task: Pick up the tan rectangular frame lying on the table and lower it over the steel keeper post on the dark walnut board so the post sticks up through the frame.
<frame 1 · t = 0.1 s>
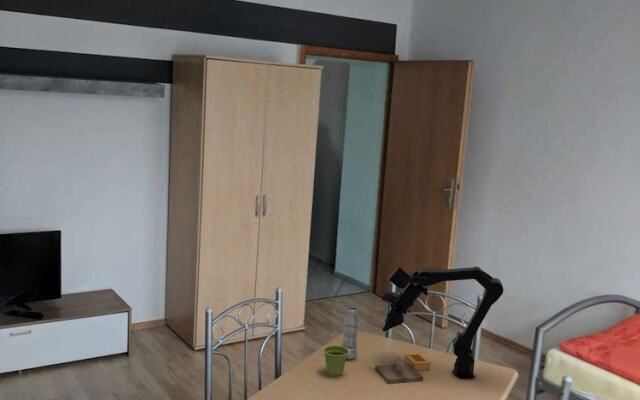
hand: (384, 326, 251), 15 cm above the table, tool tilted 30°, fingers open, 9 cm apart
tan rectangular frame: (416, 365, 254), on the table
plastic bottle: (348, 358, 257), on the table
keeper board: (398, 375, 244), on the table
plant pot: (334, 373, 243), on the table
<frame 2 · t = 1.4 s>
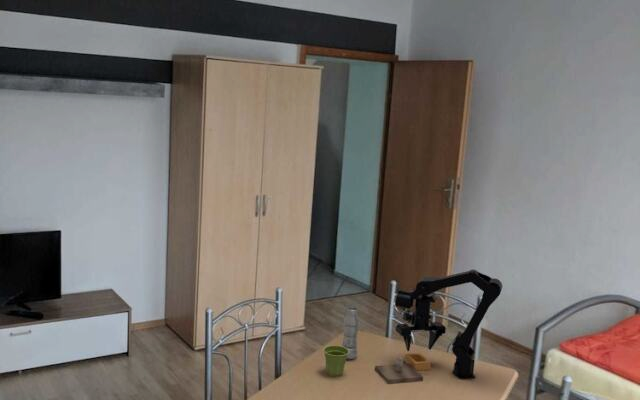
hand: (418, 350, 253), 6 cm above the table, tool pointing down, fingers open, 9 cm apart
nothing on the table moved.
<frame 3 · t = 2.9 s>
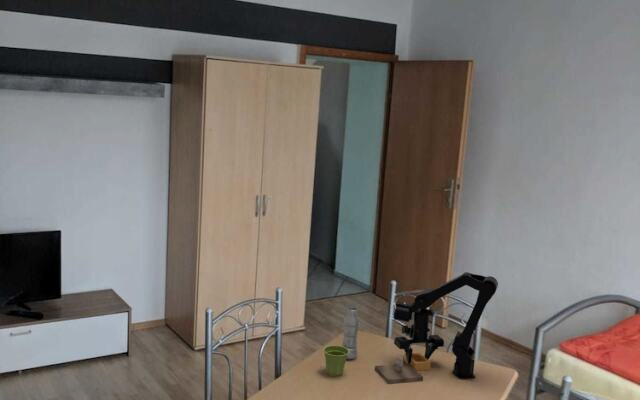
hand: (417, 362, 254), 1 cm above the table, tool pointing down, fingers closed on tan rectangular frame, 7 cm apart
tan rectangular frame: (416, 365, 254), on the table, touching gripper
everything else where it was.
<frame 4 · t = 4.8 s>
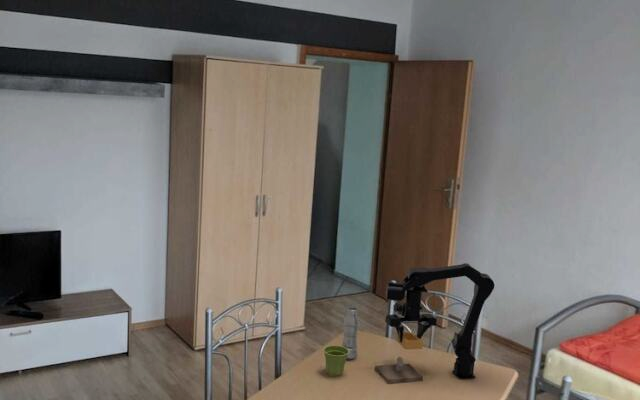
hand: (408, 341, 247), 11 cm above the table, tool pointing down, fingers closed on tan rectangular frame, 7 cm apart
tan rectangular frame: (408, 344, 247), point 10 cm above the table, touching gripper
everything else where it was.
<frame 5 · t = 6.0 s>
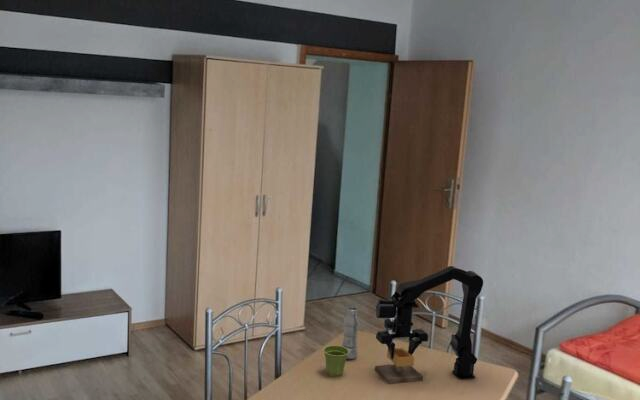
hand: (400, 358, 243), 7 cm above the table, tool pointing down, fingers closed on tan rectangular frame, 7 cm apart
tan rectangular frame: (399, 360, 243), point 6 cm above the table, touching gripper
everything else where it was.
when the fingers open (4 cm above the table, at t = 6.9 s): tan rectangular frame drops 2 cm, resting on keeper board.
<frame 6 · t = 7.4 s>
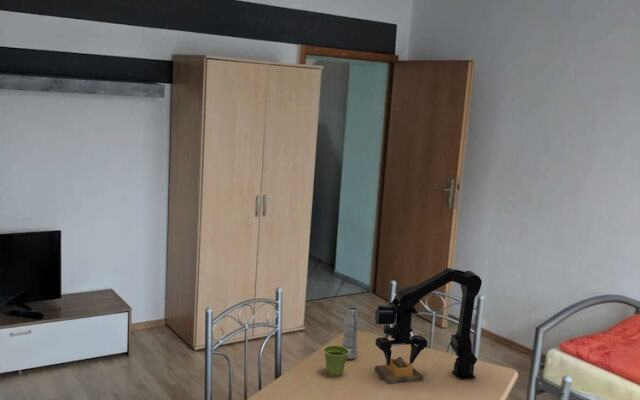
hand: (399, 364, 243), 4 cm above the table, tool pointing down, fingers open, 9 cm apart
tan rectangular frame: (398, 371, 244), point 1 cm above the table, touching keeper board
everything else where it was.
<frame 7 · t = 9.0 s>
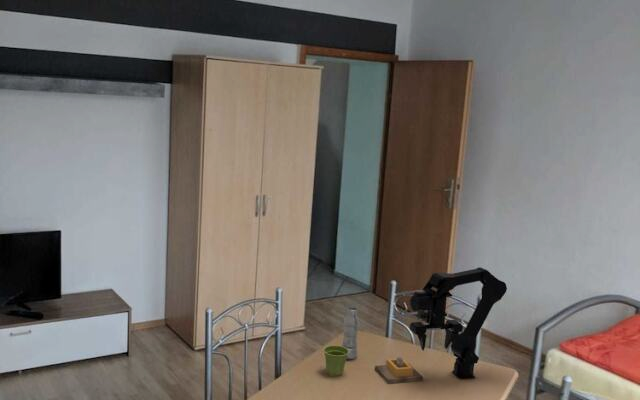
hand: (434, 349, 240), 12 cm above the table, tool pointing down, fingers open, 9 cm apart
nothing on the table moved.
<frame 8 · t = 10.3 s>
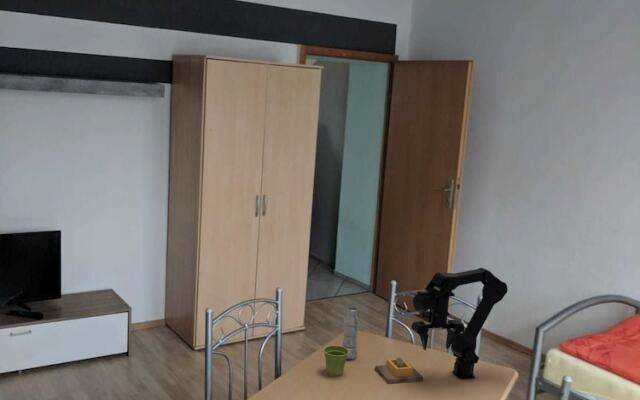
hand: (435, 349, 240), 12 cm above the table, tool pointing down, fingers open, 9 cm apart
nothing on the table moved.
at the end: tan rectangular frame 0.1 cm off-centre on the keeper board, point 1.5 cm above the keeper board's base; tan rectangular frame tilted 0°; the gripper is holding nothing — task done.
